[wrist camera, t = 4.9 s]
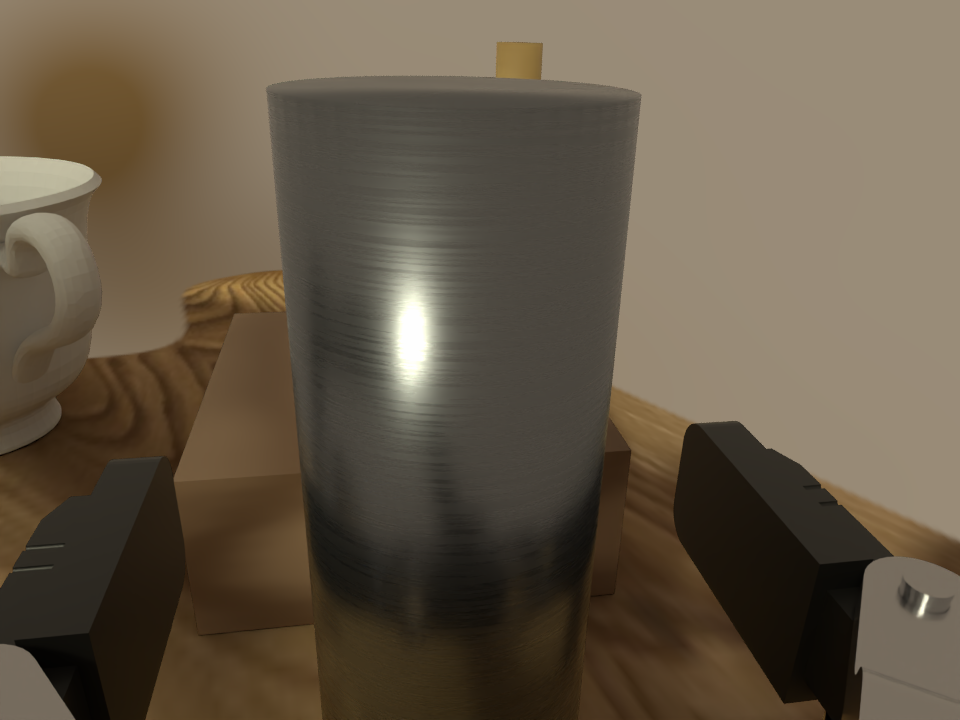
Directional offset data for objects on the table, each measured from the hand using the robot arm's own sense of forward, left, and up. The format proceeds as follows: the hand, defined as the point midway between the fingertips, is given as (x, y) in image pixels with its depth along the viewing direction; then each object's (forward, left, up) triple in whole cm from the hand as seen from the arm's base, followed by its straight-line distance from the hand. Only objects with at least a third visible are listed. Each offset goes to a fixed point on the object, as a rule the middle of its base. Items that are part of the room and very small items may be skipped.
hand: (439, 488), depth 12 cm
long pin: (+1, -1, -9) cm, 9 cm away
